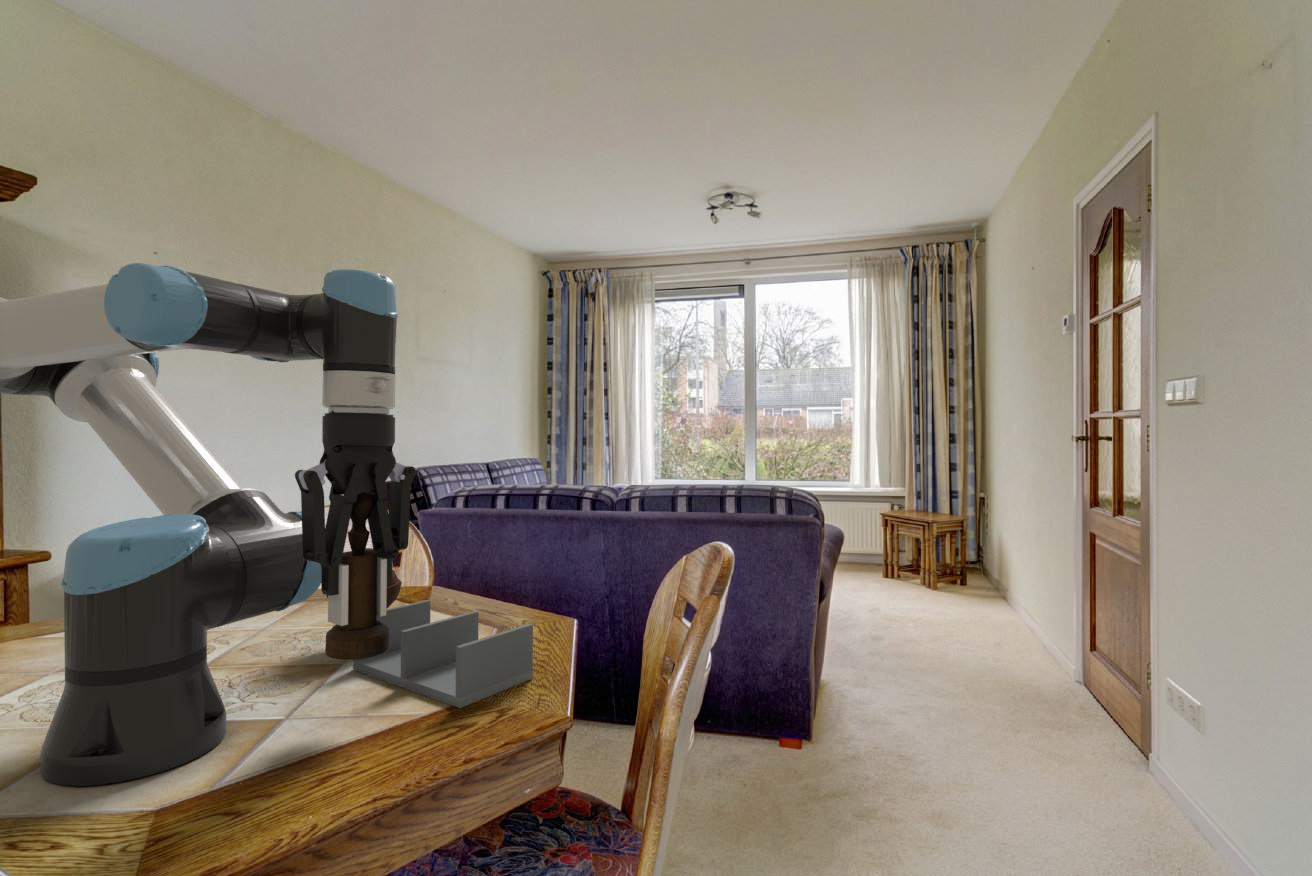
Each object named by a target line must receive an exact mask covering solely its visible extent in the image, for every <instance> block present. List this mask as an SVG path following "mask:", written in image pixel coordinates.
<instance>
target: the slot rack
mask: <svg viewBox="0 0 1312 876" xmlns="http://www.w3.org/2000/svg"><path fill="white" fill-rule="evenodd" d="M377 620H379V621H381V622H382V623H383V624H384V625H385V626H387V627H388V630H389V646H388V649H387V650H386V651H385V652H384V653H381V654H379V655H377V656H373V657H369V658H364V659H356V660H352V670H353V669H354V670H353V671H355V670H357V671H356V672H358V671H360V672H359V673H361V672H363V673H362V674H364V675H366V674H367V676H369V675H370V676H369V677H372V678H375V677H376V679H378V678H379V679H378V680H381V681H383V680H384V682H386V683H388V684H392V685H394V686H397V687H400V688H403V689H406V690H407V691H411V692H414V693H417V694H420V695H423V696H425V697H428V698H429V699H430V698H431V699H433V700H437V701H439V702H442V703H444V704H446V705H447V704H448V705H450V706H453V707H455V708H458V709H461V708H464V707H466V706H469V705H471V704H474V703H476V702H478V701H481V700H484V699H485V698H486V699H487V698H488V697H491V696H493V695H495V694H496V695H497V694H498V693H501V692H502V691H506V690H508V689H510V688H513V687H515V686H518V685H520V684H523V683H525V682H527V681H531V680H533V677H534V673H533V672H534V668H533V667H534V663H533V662H534V661H533V660H534V625H533V624H532V623H526V624H523V625H520V626H516V627H514V628H511V629H508V630H504V631H501V632H498V633H497V632H496V633H494V634H492V635H488V636H485V637H482V638H479V611H476V610H475V611H474V610H473V611H469V612H465V613H463V614H459V615H455V616H451V617H447V618H444V619H443V618H442V619H440V620H437V621H433V622H431V600H430V599H426V600H422V601H418V602H417V601H416V602H413V603H409V604H404V605H400V606H397V607H396V606H395V607H392V608H387V609H386V615H385V616H381V617H380V616H377Z"/></svg>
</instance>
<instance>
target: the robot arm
mask: <svg viewBox="0 0 1312 876" xmlns="http://www.w3.org/2000/svg"><path fill="white" fill-rule="evenodd" d="M395 286H396V285H395V284H394V281H392V279H391V278H389V277H388V276H386V275H384V274H380V273H379V272H378V273H377V272H374V271H369V270H359V269H348V268H347V269H345V268H344V269H334V270H331V271H329V272H327V273H326V274H325V275H324V277H323V285H322V287H321V290H322V292H319V293H315V294H313V293H312V294H289V293H283V292H278V291H275V290H270V289H265V288H261V287H255V286H251V285H246V284H241V283H236V282H232V281H228V280H224V279H219V278H216V277H211V276H206V275H202V274H198V273H193V272H189V271H186V270H184V269H179V268H178V267H174V266H170V265H155V264H147V263H141V262H134V263H128V264H125V265H124V266H121V268H119V271H118V273H115V274H113V275H111V277H110V278H109V280H108V283H106V284H100V285H93V286H87V287H82V288H80V287H79V288H76V289H70V290H63V291H58V292H57V291H56V292H52V293H51V292H50V293H45V294H39V295H33V296H32V295H31V296H25V297H21V298H14V299H7V298H4V297H0V394H3V395H21V396H38V397H42V396H43V397H47V398H49V399H50V400H51V401H52V402H53V404H54V405H55V406H56V408H57V409H58V410H59V411H60V413H62V414H63V415H64V416H66V417H67V418H69V419H71V420H73V421H76V422H80V423H88V425H89V426H90V427H91V429H93V431H94V432H95V433H96V435H97V436H98V437H99V438H100V440H102V442H103V443H104V444H105V445H106V447H107V448H108V450H110V452H111V453H112V454H113V455H114V457H115V458H117V460H118V462H119V463H121V465H122V466H123V468H124V469H125V470H126V471H127V472H128V473H129V475H130V476H131V477H132V479H134V481H135V482H136V484H138V486H139V487H140V488H141V490H142V491H143V492H144V493H145V494H146V496H147V497H148V498H149V499H150V500H151V501H152V503H153V504H154V505H155V506H156V507H157V509H158V510H159V512H160V513H162V515H157V516H151V517H140V518H135V519H133V518H132V519H127V520H124V521H119V522H118V521H117V522H114V523H110V524H106V525H103V526H99V527H96V528H94V529H90V530H88V531H86V532H83V533H82V534H80V535H79V536H78V537H76V538H75V539H74V540H73V541H72V542H71V543H70V544H69V546H68V548H67V549H66V552H65V560H64V568H63V577H62V579H61V587H62V590H63V598H64V601H63V603H64V606H63V607H64V608H63V609H64V611H63V615H64V616H63V617H64V623H63V624H64V628H63V629H64V630H63V631H64V632H63V633H64V687H63V692H62V694H61V696H60V699H59V701H58V704H57V706H56V709H55V712H54V715H53V717H52V720H51V722H50V725H49V727H48V730H47V733H46V736H45V738H44V740H43V743H42V746H41V750H40V775H41V776H42V778H43V779H44V780H46V781H48V782H50V783H53V784H56V785H61V786H77V787H78V786H80V787H81V786H82V787H83V786H97V785H105V784H106V785H107V784H114V783H118V782H119V783H120V782H126V781H129V780H135V779H140V778H143V777H147V776H151V775H154V774H155V775H156V774H158V773H161V772H164V771H167V770H169V769H173V768H176V767H178V766H181V765H183V764H186V763H188V762H190V761H192V760H194V759H197V758H199V757H201V756H202V755H204V754H206V753H208V752H210V751H211V750H212V749H214V748H215V747H216V746H217V745H219V744H220V743H221V742H222V741H223V739H224V738H225V737H226V734H227V709H226V707H225V704H224V702H223V699H222V697H221V695H220V692H219V689H218V687H217V684H216V682H215V680H214V678H213V675H212V673H211V671H210V668H209V665H208V653H207V652H208V630H211V629H215V628H219V627H222V626H223V627H224V626H225V625H226V626H227V625H229V624H230V625H231V624H233V623H236V622H237V623H238V622H240V621H244V620H247V619H251V618H255V617H258V616H262V615H265V614H269V613H273V612H276V613H278V612H281V611H284V610H286V609H288V608H289V607H292V606H294V605H297V604H300V603H303V602H305V601H306V600H307V601H308V599H309V598H311V597H312V596H313V595H314V594H315V593H316V592H317V590H319V588H320V586H321V592H322V594H323V595H325V596H326V595H328V598H327V622H328V623H331V624H334V625H336V624H337V625H340V626H344V625H348V569H349V565H345V564H341V561H342V557H343V553H344V552H345V551H344V550H345V546H346V540H347V537H348V532H349V531H348V530H349V526H350V520H351V518H350V516H351V511H352V506H353V504H354V503H355V502H356V499H357V495H358V494H361V493H368V494H370V495H371V496H372V498H373V501H374V507H373V510H372V512H371V514H370V515H369V517H368V519H367V522H368V528H369V532H370V533H369V535H370V539H371V544H372V548H373V550H374V551H377V592H376V613H377V616H380V617H381V616H385V615H386V610H387V609H386V596H387V584H391V581H392V570H393V559H396V558H397V557H398V556H399V554H400V553H399V552H400V551H401V550H403V551H404V550H406V549H407V548H408V546H409V537H410V517H411V515H410V511H411V492H412V491H411V490H412V488H411V486H412V484H413V481H414V479H415V476H416V472H417V470H416V468H415V467H414V466H408V465H403V464H401V463H399V462H397V459H396V457H395V454H394V452H393V447H394V445H395V442H396V417H394V414H390V410H394V409H395V407H396V340H397V339H396V338H397V321H398V320H397V319H398V318H399V317H398V315H399V314H398V312H397V298H396V297H397V296H396V287H395ZM180 350H181V351H182V350H197V351H198V350H200V351H209V352H218V353H219V352H220V353H224V354H225V353H226V354H233V355H242V356H249V357H251V358H252V359H255V360H259V361H266V362H278V363H288V362H291V361H311V360H323V361H322V399H321V400H322V403H321V405H322V406H323V407H324V408H328V412H325V413H324V415H322V420H321V421H322V425H321V427H322V428H321V429H322V433H321V434H322V435H321V436H322V438H321V440H322V445H323V453H322V456H321V457H320V459H319V463H318V464H316V465H314V466H313V467H310V468H308V469H298V470H296V472H295V473H294V477H295V480H296V483H297V485H298V487H299V490H300V499H301V501H300V502H301V505H300V506H301V512H299V511H289V512H286V513H285V512H284V511H282V510H281V509H280V508H279V507H278V506H277V504H275V503H274V501H273V500H272V499H271V498H270V496H268V495H267V494H266V493H265V492H264V491H262V490H260V489H258V488H249V487H246V488H244V487H243V486H242V485H241V484H240V483H239V482H238V481H237V480H236V478H235V477H234V475H232V473H230V472H229V470H228V469H227V468H226V467H225V466H224V465H223V463H221V461H220V460H219V459H218V458H217V457H216V456H215V455H214V453H213V452H212V451H211V450H210V449H209V447H207V446H206V444H205V443H204V442H203V441H202V440H201V438H200V437H199V436H198V435H197V434H196V433H195V431H193V429H192V428H191V427H190V426H189V424H188V423H186V421H185V420H184V419H183V418H182V417H181V416H180V414H178V413H177V411H176V410H175V409H174V407H172V406H171V405H170V403H169V402H168V401H167V400H166V398H164V396H163V395H162V394H161V393H160V392H159V391H158V389H156V386H157V381H158V377H159V371H160V359H159V357H157V356H155V355H156V354H157V352H158V353H160V352H162V353H163V352H170V351H171V352H172V351H173V352H174V351H180ZM325 477H326V479H327V480H328V481H329V483H330V484H331V485H330V486H331V487H330V491H329V494H328V495H329V496H328V500H329V502H330V503H329V509H328V512H327V518H326V516H325V515H326V514H325V513H326V511H325V492H324V491H325V490H324V487H323V486H324V485H325V483H326V480H325ZM388 478H389V479H390V484H389V493H388V489H387V484H386V481H387V480H388ZM388 495H389V496H388ZM387 499H388V503H387ZM387 504H388V505H387Z"/></svg>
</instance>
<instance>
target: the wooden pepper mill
mask: <svg viewBox="0 0 1312 876" xmlns="http://www.w3.org/2000/svg"><path fill="white" fill-rule="evenodd" d="M373 507H374V501H373V498H372V496H371V495H370V494H368V493H361V494H358V495H357V499H356V502H355V503H354V504H353V506H352V511H351V516H350V520H351V528H350V530H349V531H347V538H348V542H349V546H350V549H351V551H344V552H343V557H342V561H341V564H345V565H349V569H348V625H344V626H340V625H337V624H334V625H333V626H332V627H331V629H329V630H328V631H327V632H326V634H325V649H324V650H325V652H324V653H325V656H326V657H328V658H331V660H332V659H333V660H337V661H338V660H339V661H340V660H341V661H353V660H356V659H364V658H369V657H373V656H377V655H379V654H381V653H384V652H385V651H386V650H387V649H388V646H389V630H388V627H387V626H385V625H384V624H383V623H382V622H381V621H379V620H377V613H376V592H377V551H374V550H365V548H367V545H368V541H369V537H370V530H368V529H367V521H368V517H369V515H370V514H371V512H372V510H373Z"/></svg>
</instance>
